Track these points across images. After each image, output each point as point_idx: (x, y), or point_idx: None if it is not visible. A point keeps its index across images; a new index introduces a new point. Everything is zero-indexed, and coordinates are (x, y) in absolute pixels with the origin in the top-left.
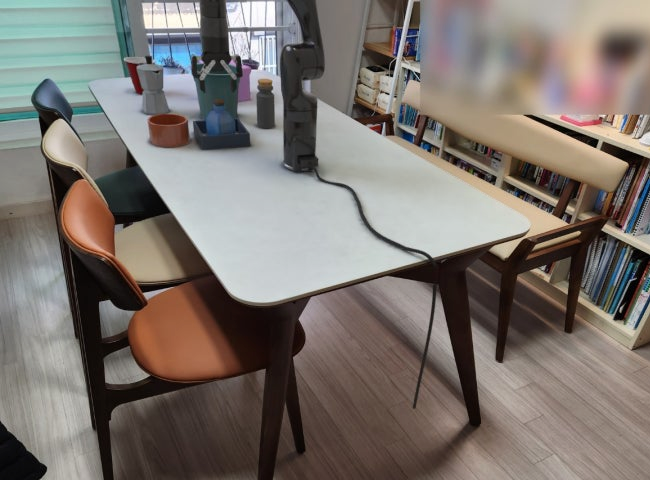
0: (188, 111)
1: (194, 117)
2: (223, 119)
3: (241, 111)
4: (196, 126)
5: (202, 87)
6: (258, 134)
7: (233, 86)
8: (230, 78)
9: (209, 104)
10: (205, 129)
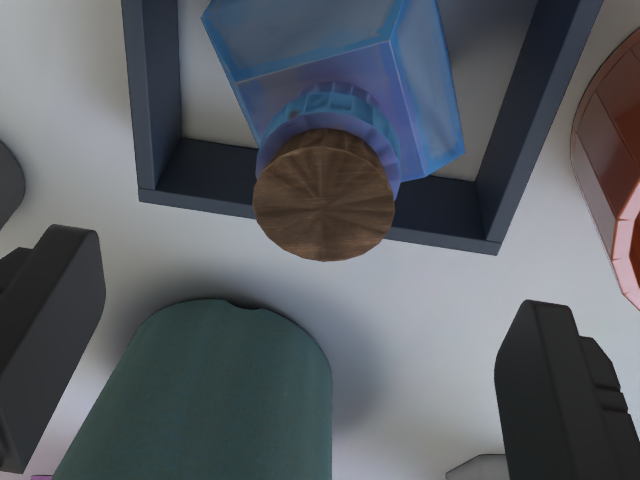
0: (361, 451)
1: (365, 390)
2: (336, 6)
3: (96, 388)
4: (539, 138)
5: (580, 379)
6: (33, 27)
7: (30, 288)
8: (22, 461)
9: (290, 409)
10: (411, 188)
